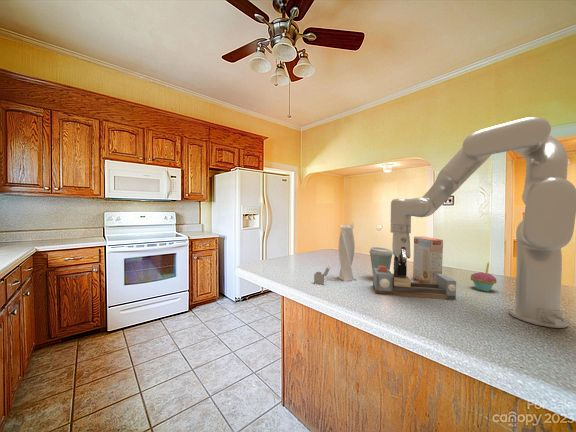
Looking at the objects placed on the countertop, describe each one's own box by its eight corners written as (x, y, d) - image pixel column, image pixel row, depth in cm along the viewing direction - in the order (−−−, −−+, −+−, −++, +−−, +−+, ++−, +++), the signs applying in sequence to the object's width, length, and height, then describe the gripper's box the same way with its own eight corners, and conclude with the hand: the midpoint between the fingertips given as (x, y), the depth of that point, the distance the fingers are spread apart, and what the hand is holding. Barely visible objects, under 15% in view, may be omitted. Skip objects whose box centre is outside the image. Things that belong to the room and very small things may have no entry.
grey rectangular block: (456, 300, 88) (456, 281, 88) (447, 299, 89) (447, 281, 88) (444, 291, 98) (444, 274, 98) (436, 290, 99) (436, 273, 99)
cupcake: (486, 286, 104) (487, 259, 104) (502, 293, 96) (502, 263, 96) (465, 286, 105) (466, 259, 105) (479, 292, 97) (479, 263, 96)
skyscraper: (359, 281, 112) (359, 222, 111) (344, 283, 109) (345, 222, 108) (348, 276, 120) (349, 221, 119) (334, 278, 117) (335, 221, 116)
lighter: (313, 283, 108) (314, 265, 107) (315, 282, 109) (315, 265, 109) (329, 285, 105) (329, 267, 105) (330, 284, 106) (330, 266, 106)
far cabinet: (392, 295, 93) (393, 275, 92) (376, 294, 94) (376, 274, 94) (387, 287, 103) (387, 268, 103) (372, 286, 104) (373, 267, 104)
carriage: (410, 287, 93) (410, 261, 92) (394, 286, 94) (394, 261, 94) (405, 281, 101) (405, 257, 100) (389, 280, 102) (390, 257, 102)
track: (455, 299, 89) (455, 291, 88) (376, 293, 95) (376, 286, 94) (444, 291, 98) (444, 283, 98) (372, 286, 104) (373, 279, 104)
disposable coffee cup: (393, 278, 117) (394, 247, 117) (390, 283, 108) (391, 250, 107) (371, 275, 122) (371, 246, 122) (366, 280, 113) (367, 248, 113)
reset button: (386, 277, 97) (386, 267, 97) (379, 276, 98) (379, 266, 97) (385, 275, 100) (385, 265, 100) (378, 274, 100) (378, 265, 100)
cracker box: (442, 287, 103) (443, 239, 102) (428, 287, 103) (429, 239, 102) (424, 278, 117) (425, 236, 116) (412, 278, 117) (413, 236, 116)
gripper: (417, 231, 88) (416, 279, 88) (404, 227, 104) (404, 268, 105) (395, 230, 89) (394, 278, 90) (386, 227, 106) (386, 267, 106)
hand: (399, 272), depth 97 cm, fingers open, 6 cm apart
